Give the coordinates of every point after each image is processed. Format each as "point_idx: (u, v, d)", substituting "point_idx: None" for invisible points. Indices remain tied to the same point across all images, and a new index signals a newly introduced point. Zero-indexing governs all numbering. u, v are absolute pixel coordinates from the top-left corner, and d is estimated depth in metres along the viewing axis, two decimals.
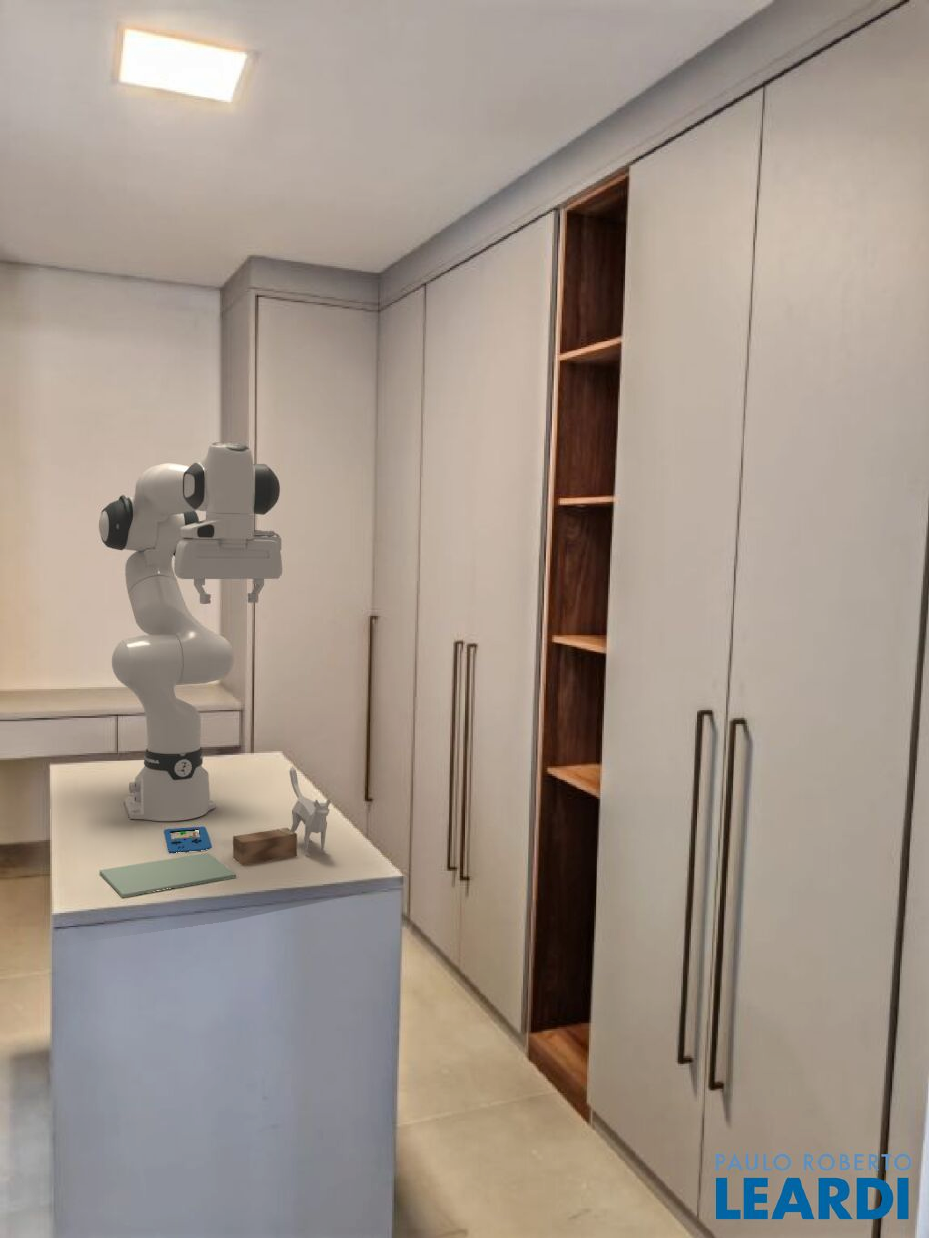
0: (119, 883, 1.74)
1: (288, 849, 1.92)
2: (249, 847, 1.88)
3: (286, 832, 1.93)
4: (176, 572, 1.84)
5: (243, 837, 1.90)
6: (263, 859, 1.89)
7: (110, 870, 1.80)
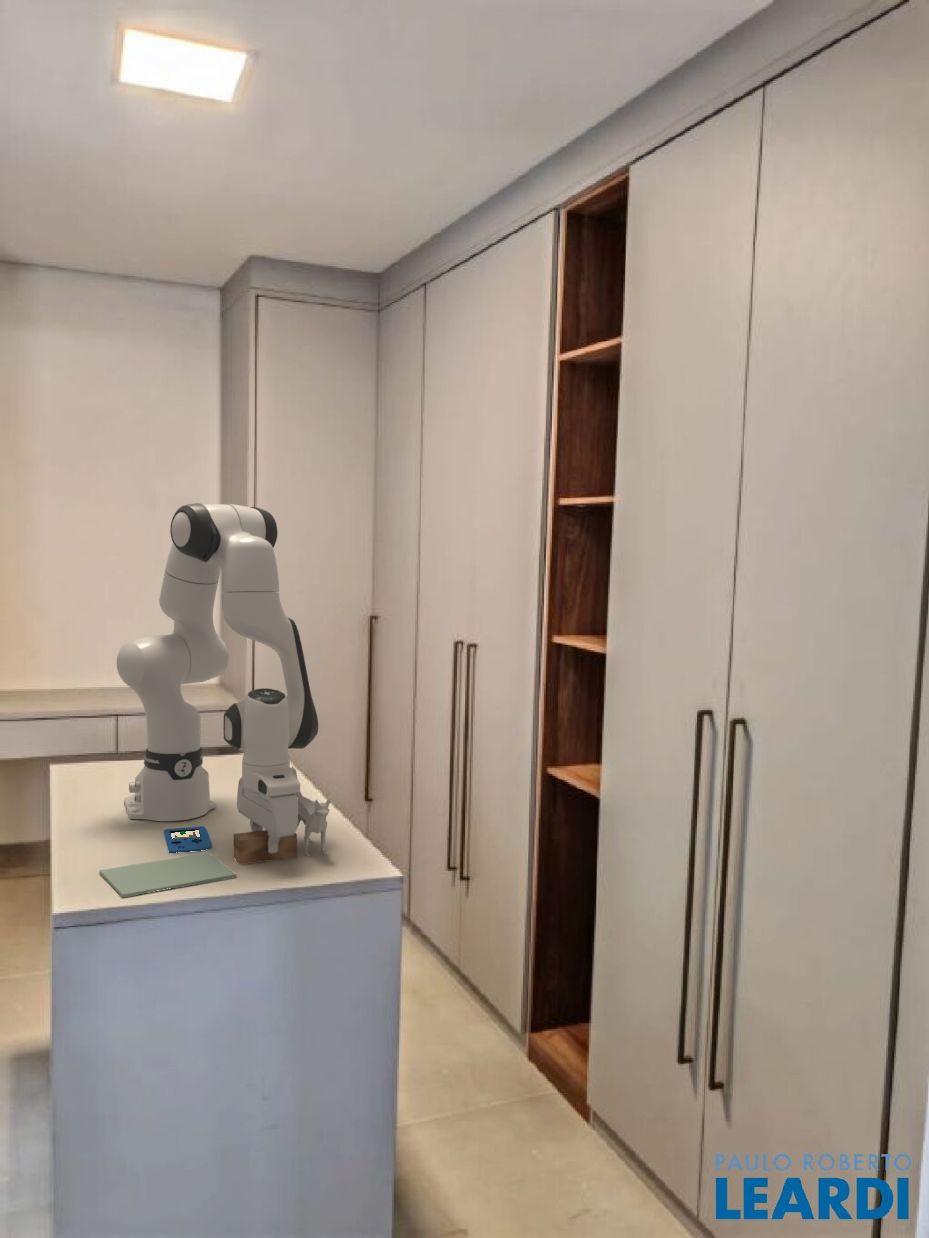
0: (119, 883, 1.74)
1: (288, 849, 1.92)
2: (247, 846, 1.88)
3: None
4: (286, 831, 1.83)
5: (242, 835, 1.90)
6: (261, 858, 1.89)
7: (110, 870, 1.80)
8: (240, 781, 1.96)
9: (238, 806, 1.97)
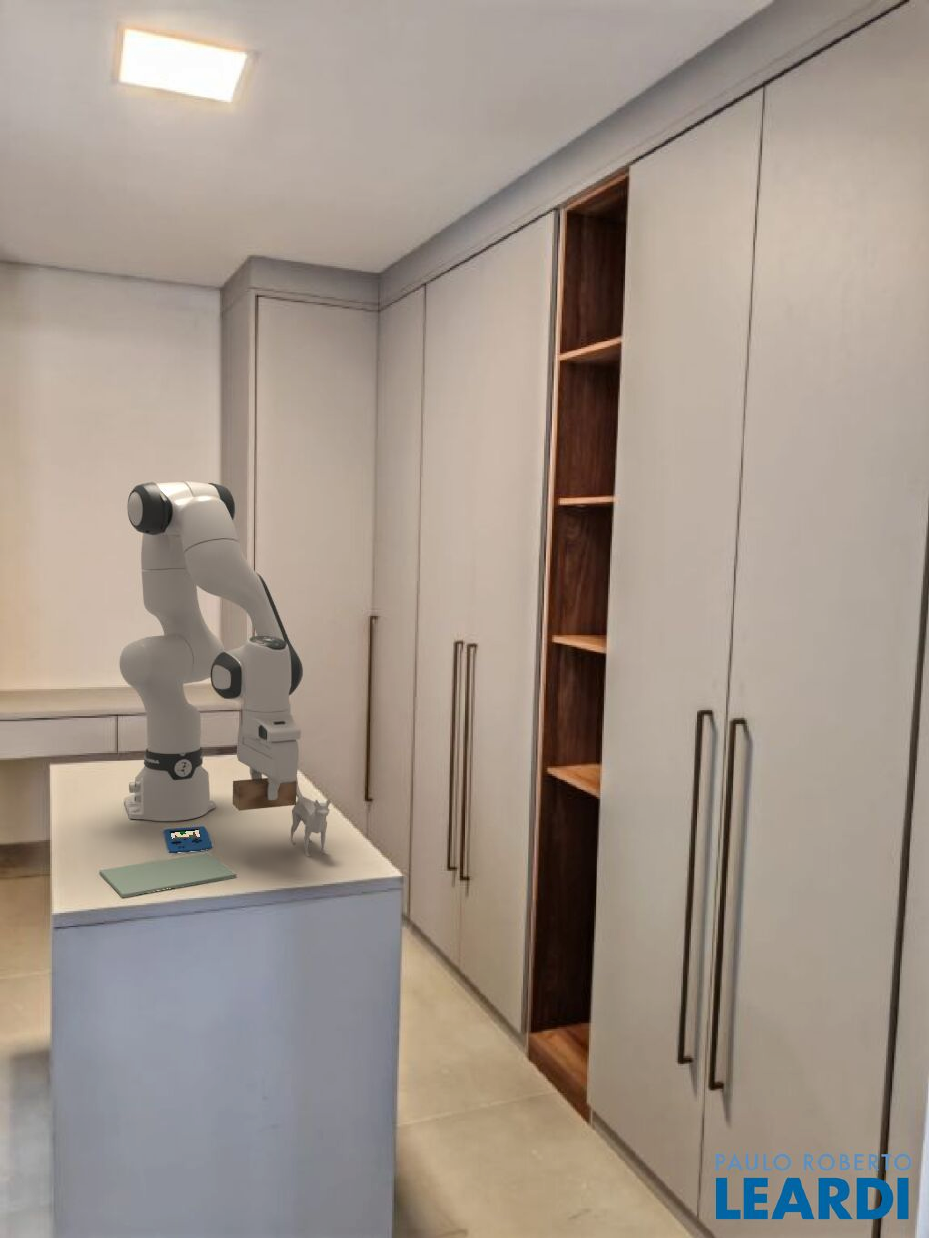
0: (119, 883, 1.74)
1: (288, 796, 1.91)
2: (247, 792, 1.87)
3: None
4: (286, 777, 1.82)
5: (242, 782, 1.89)
6: (261, 805, 1.89)
7: (110, 870, 1.80)
8: (240, 729, 1.96)
9: (238, 754, 1.97)
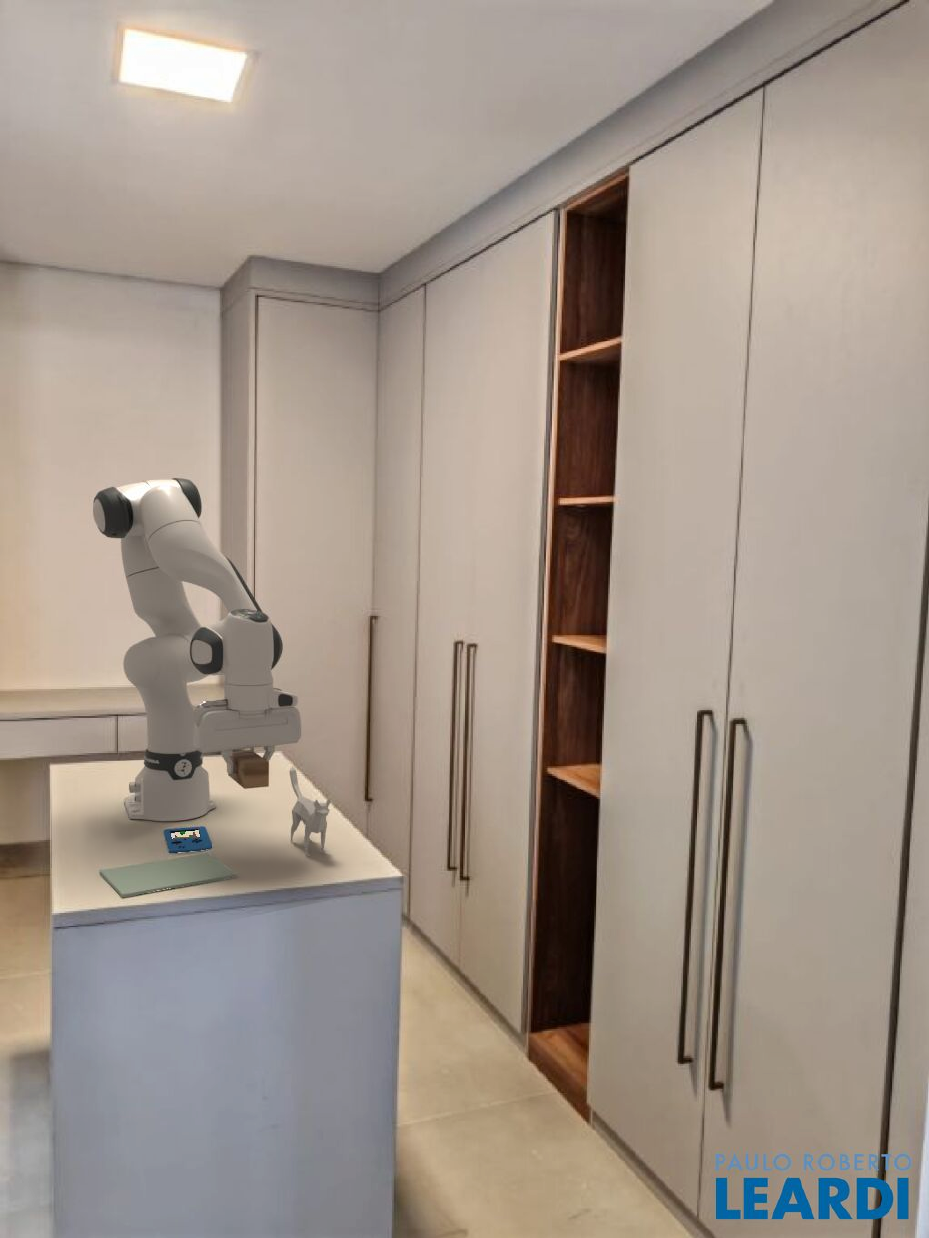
0: (119, 883, 1.74)
1: None
2: None
3: (246, 751, 1.92)
4: None
5: (251, 762, 1.84)
6: None
7: (110, 870, 1.80)
8: (210, 716, 1.81)
9: (206, 745, 1.81)
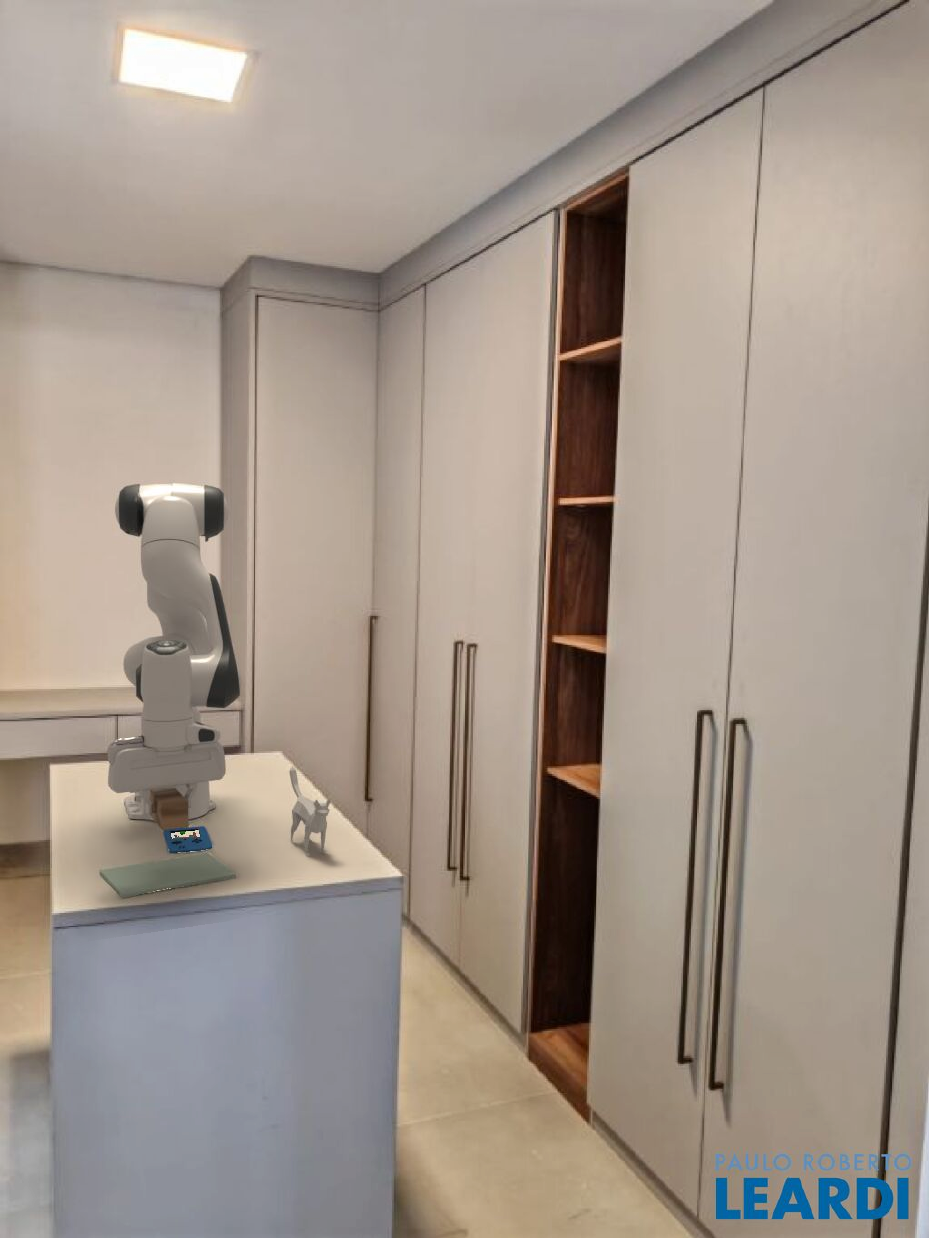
0: (119, 883, 1.74)
1: None
2: None
3: (168, 789, 1.83)
4: None
5: (169, 801, 1.75)
6: None
7: (110, 870, 1.80)
8: (124, 755, 1.72)
9: (120, 785, 1.72)
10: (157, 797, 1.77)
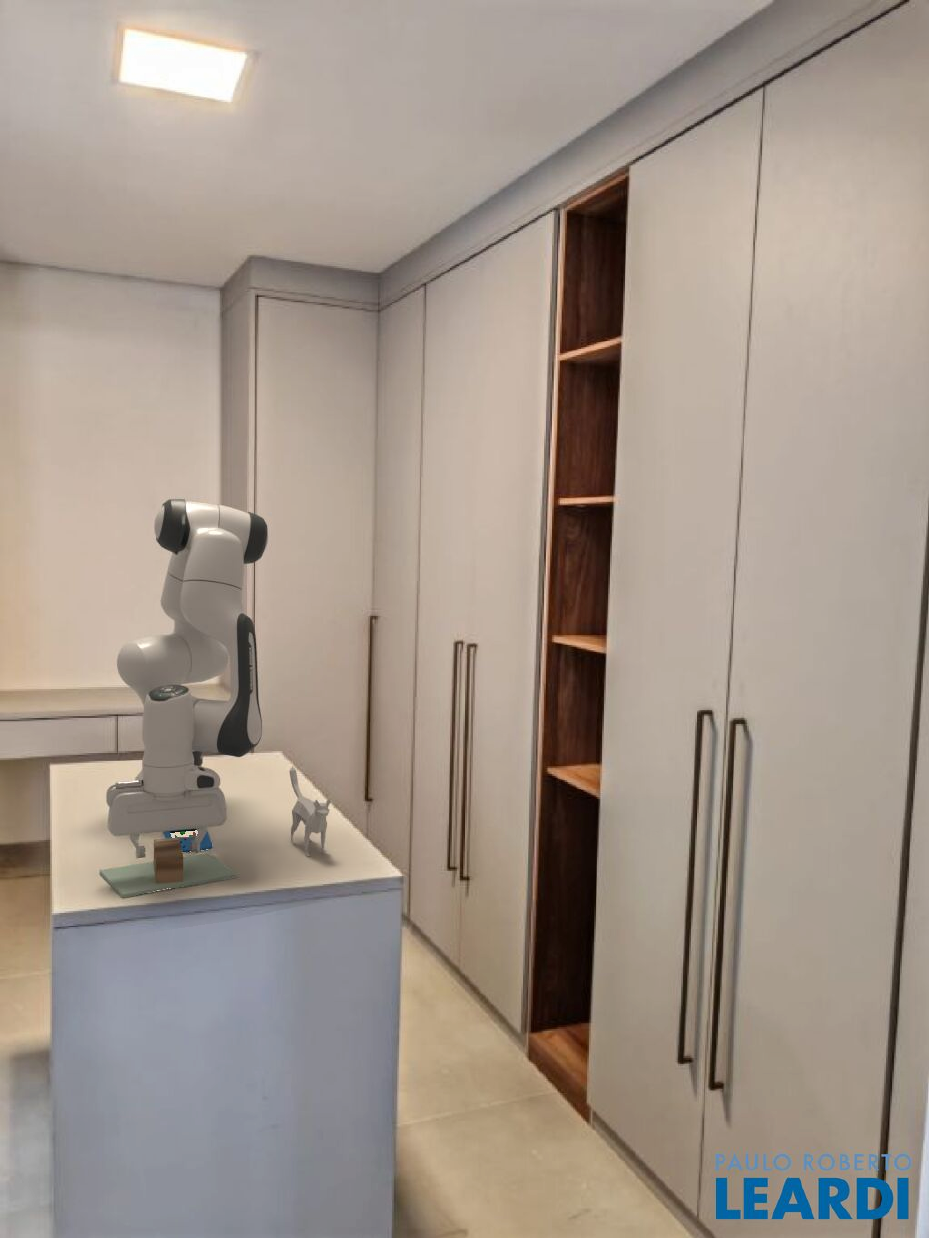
0: (119, 883, 1.74)
1: None
2: None
3: (171, 839, 1.84)
4: None
5: (165, 855, 1.76)
6: None
7: (110, 870, 1.80)
8: (122, 799, 1.74)
9: (117, 828, 1.74)
10: (156, 849, 1.79)
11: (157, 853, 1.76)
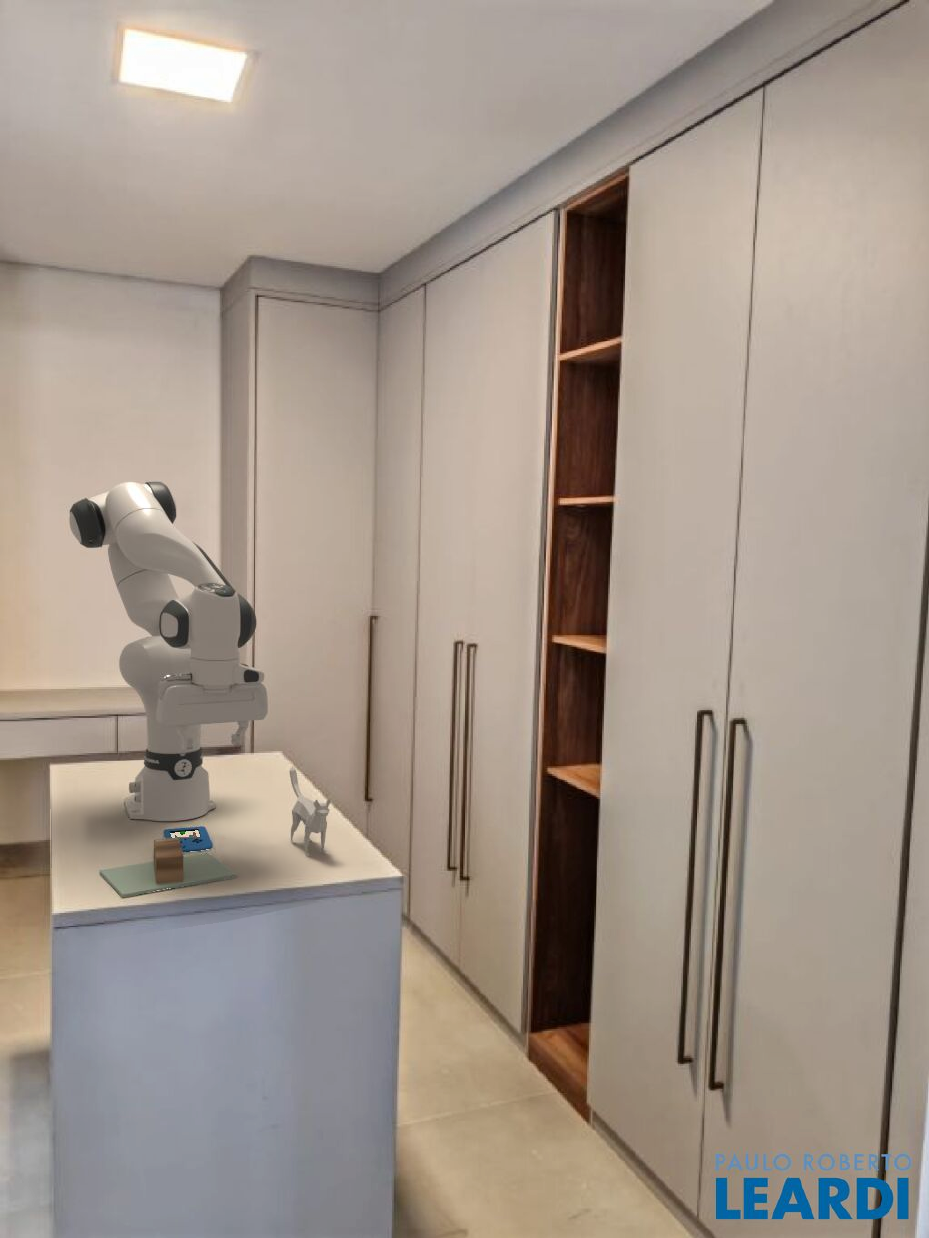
0: (119, 883, 1.74)
1: None
2: None
3: (171, 839, 1.84)
4: None
5: (165, 855, 1.76)
6: None
7: (110, 870, 1.80)
8: (173, 690, 1.80)
9: (169, 719, 1.80)
10: (156, 849, 1.79)
11: (157, 853, 1.76)
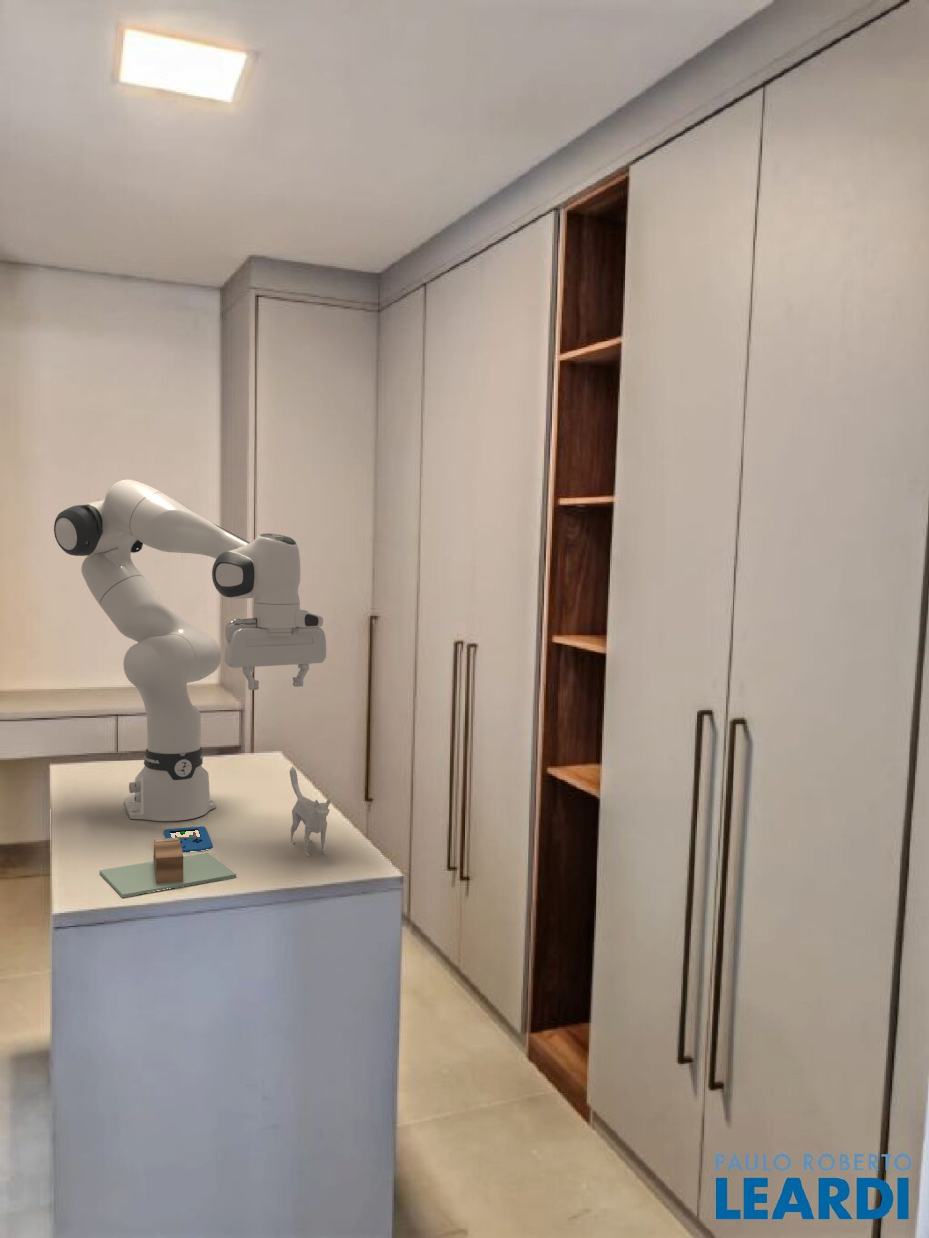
0: (119, 883, 1.74)
1: None
2: None
3: (171, 839, 1.84)
4: None
5: (165, 855, 1.76)
6: None
7: (110, 870, 1.80)
8: (241, 633, 1.91)
9: (237, 660, 1.91)
10: (156, 849, 1.79)
11: (157, 853, 1.76)
